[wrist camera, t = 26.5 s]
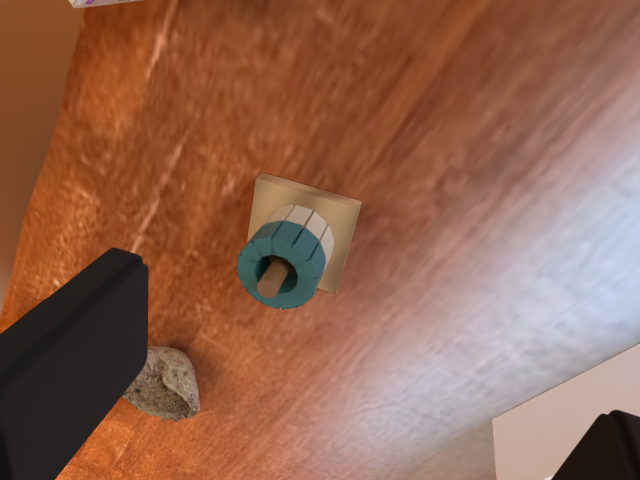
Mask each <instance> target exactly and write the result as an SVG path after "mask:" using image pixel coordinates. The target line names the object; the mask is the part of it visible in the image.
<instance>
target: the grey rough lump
mask: <svg viewBox="0 0 640 480" xmlns="http://www.w3.org/2000/svg"><path fill="white" fill-rule="evenodd" d="M122 396H123V398H125V399H127V400H128V401H129V403H130V404H133V405H135V406H136V408H137V409H138V410H141V411H145V412H146V413H147V414H148V415H155V416H159V417H160V418H161V419H162V420H165V419H171V420H174V421H177V422H179V421H180V419H181V418H183V419H185V418H186V417H187V418H191V417H193V416H195V415H196V414H197V413H198V412H199V410H200V399H199V389H198V385H197V381H196V376H195V369H194V367H193V365H192V364H191V362H190V360H189V358H188V356H186V354H185V353H183V352H182V351H180V350H177V349H174V348H170V347H167V346H148V356H147V360H146V363H145V366H144V368H143V369H142V371H141V372H140V374H139V375H138V376H137V377H136V379H135V380H134V381H133V382H132V384H131V385H130V386H129V387H128V389H127V390H126V391H125V392H124V394H123V395H122Z"/></svg>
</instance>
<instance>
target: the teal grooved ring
mask: <svg viewBox="0 0 640 480" xmlns="http://www.w3.org/2000/svg"><path fill="white" fill-rule="evenodd" d="M302 227H303V225H300V224H297V223H293V222H290V221H287V220H285V221H284V223H283V221H282V220H280V221H275V222H270V223H266V224H265V225H263V226H262V227H261V228H260V229H259V230H258V231H257V232H256V233H255V234H254V235H253V236H252V237H251V239H250V240H249V241H248V242H247V244H246V245H245V246H244V247H243V249H242V250H241V251H240V254H239V255H238V262H237V269H236V270H237V271H238V272H237V274H238V276H239V279H240V281H241V283H242V285H243V288H247V289H246V291H247V292H248V293H249V294H250V295H251V296H253V297H254V298H255V299H256V300H257V301H258V302H260V301H261V300H262V304H264V305H267V306H270V307H273V308H276V309H279V308H280V307H281V309H290V308H298V307H299V306H302V305H303V304H304V303H306V302H307V301H308V300H309V299H310V298H312V296H313V295H314V293H315V291H316V289H317V286H318V284H319V282H320V280H321V278H322V275H323V272H324V268H325V264H326V260H325V258H326V256H325V253H324V250H323V248H322V245H321V242H318V240H319V239H318V238H317V237H316V236H315V235H314V234H313V233H311V232H310V231H309V230H308V229H307V228H306V227H304V228H303V229H302ZM269 255H276V256H279V257H282V258H285V259H287V260H288V261H289V262H290V263H291V264H292V265H293V266H294V267H295V269H296V272H297V273H295V274H288V275H287V277H286V279H285V280H284V282H283V284H282V286H281V287H280V289H279V291H278V293H277V294H276V296H275V297H273V298H265V297H263V296H261V295H260V294H259V292H258V290H257V284H258V282H259V281H260V279H261V278H262V276H263V274H264V273H265V271H266V270H267V268H268V267H269V265H270V264H271V263H270V260H269V258H268V256H269Z"/></svg>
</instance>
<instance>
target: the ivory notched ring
mask: <svg viewBox="0 0 640 480" xmlns="http://www.w3.org/2000/svg"><path fill="white" fill-rule="evenodd" d="M280 220H282V221H283V223H284V221H285V220H287V221H290V222H293V223H297V224H300V225H303V227H302V229H303V228H304V227H306V228H307V229H308V230H309V231H310V232H311V233H313V234H314V235H315V236H316V237H317V238H318V239H319V240H318V242H321V245H322V248H323V250H324V253H325V256H326V258H325V260H326V264H325V268H324V271H325V269H326V266H327V264H328V262H329V260H330V258H331V255H332V251H333V247H334V238H333V235H332V232H331V229H330V226H329V225H327V222H326V221H325V220H324V219H323V218H322V217H321V216H320V215H319V214H318V213H316V212H315V211H314V212H313V213H312V210H311V209H308V208H305V207H301V206H298V205H296V206H295V207H294V205H289V206H285V207H280V208H278V209H277V210H276V209H275V210H274V211H273V212H272V213H271V214H270V215H269V216H268V217H267V218H266V219H265V221H264V222H263V223H262V225H261V226H260V227H259V228H258V230H259V229H260V228H261V227H262V226H263V225H265V224H266V223H270V222H275V221H280ZM326 225H327V226H326ZM258 230H257V231H258ZM257 231H256V232H257ZM256 232H255V233H256ZM275 256H276V255H269V256H268V258H269V260H270V263H271V262H272V261H273V259H274V257H275ZM295 273H297V272H296V269H295V267H294V266H292V268H291V270H290V272H289V273H288V274H295ZM323 273H324V272H323Z"/></svg>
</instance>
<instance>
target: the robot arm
mask: <svg viewBox="0 0 640 480" xmlns="http://www.w3.org/2000/svg"><path fill="white" fill-rule="evenodd" d="M147 356H148V266H147V265H145V264H143V261H142V258H141V256H139V255H137V254H134V253H131V252H128V251H125V250H122V249H119V248H111V249H109V250H108V251H106V252H105V253H104V254H103V255H101V256H100V257H99V258H98V259H96V260H95V261H94V262H92V263H91V264H90V265H89V266H87V267H86V268H85V269H84V270H82V271H81V272H80V273H79V274H77V275H76V276H75V277H74V278H72V279H71V280H70V281H69V282H67V283H66V284H65V285H63V286H62V287H61V288H60V289H58V290H57V291H56V292H55V293H53V294H52V295H51V296H50V297H48V298H46V299H45V300H43V301H42V302H41V303H39V304H38V305H37V306H36V307H34V308H33V309H32V310H30V311H29V312H28V313H27V314H25V315H24V316H23V317H22V318H20V319H19V320H18V321H17V322H15V323H14V324H13V325H11V326H10V327H9V328H8V329H6V330H5V331H4V332H3V333H1V334H0V480H55V479H56V477H57V476H58V475H59V474H60V472H61V471H62V470H63V469H64V467H65V466H66V465H67V464H68V462H69V461H70V460H71V459H72V457H73V456H74V455H75V454H76V452H77V451H78V450H79V449H80V447H81V446H82V445H83V444H84V442H85V441H86V440H87V439H88V437H89V436H90V435H91V434H92V432H93V431H94V430H95V429H96V427H97V426H98V425H99V424H100V422H101V421H102V420H103V419H104V417H105V416H106V415H107V414H108V412H109V411H110V410H111V409H112V407H113V406H114V405H115V404H116V402H117V401H118V400H119V399H120V397H121V396H122V395H123V394H124V392H125V391H126V390H127V389H128V387H129V386H130V385H131V384H132V382H133V381H134V380H135V379H136V377H137V376H138V375H139V374H140V372H141V371H142V369H143V368H144V366H145V363H146V360H147ZM551 480H640V417H639V416H636V415H633V414H630V413H627V412H624V411H620V410H613V411H611V412H610V413H609V414H600V415H599V416H598V417H597V418H596V420H595V421H594V422H593V424H592V425H591V426H590V428H589V429H588V430H587V432H586V433H585V435H584V436H583V437H582V439H581V440H580V441H579V443H578V444H577V445H576V447H575V448H574V449H573V451H572V452H571V453H570V455H569V456H568V457H567V459H566V460H565V461H564V463H563V464H562V465H561V467H560V468H559V469H558V471H557V472H556V473H555V475H554V476H553V477H552V479H551Z"/></svg>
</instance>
